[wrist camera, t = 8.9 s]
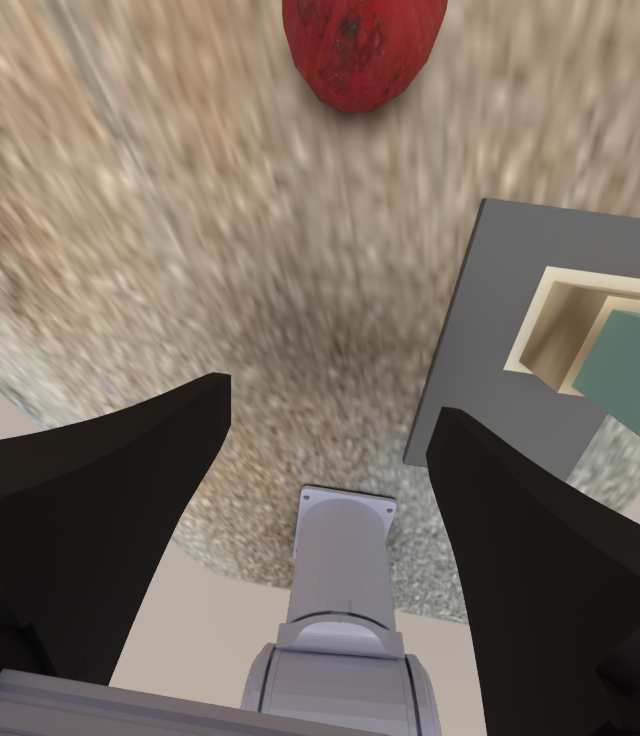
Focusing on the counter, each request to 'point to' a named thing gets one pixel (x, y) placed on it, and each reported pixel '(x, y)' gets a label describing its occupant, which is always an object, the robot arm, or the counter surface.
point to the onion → (361, 47)
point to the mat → (522, 327)
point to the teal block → (615, 369)
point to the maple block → (571, 330)
